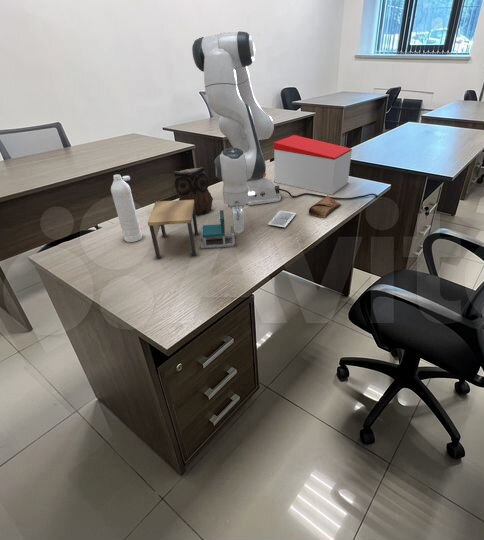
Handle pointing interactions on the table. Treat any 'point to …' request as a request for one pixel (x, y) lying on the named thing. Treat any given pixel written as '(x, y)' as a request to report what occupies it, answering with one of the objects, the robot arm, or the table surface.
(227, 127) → the robot arm
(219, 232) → the chair
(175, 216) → the desk
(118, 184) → the water bottle
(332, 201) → the sunglasses case
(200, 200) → the owl
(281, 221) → the deck of cards
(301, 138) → the red-lidded white box
